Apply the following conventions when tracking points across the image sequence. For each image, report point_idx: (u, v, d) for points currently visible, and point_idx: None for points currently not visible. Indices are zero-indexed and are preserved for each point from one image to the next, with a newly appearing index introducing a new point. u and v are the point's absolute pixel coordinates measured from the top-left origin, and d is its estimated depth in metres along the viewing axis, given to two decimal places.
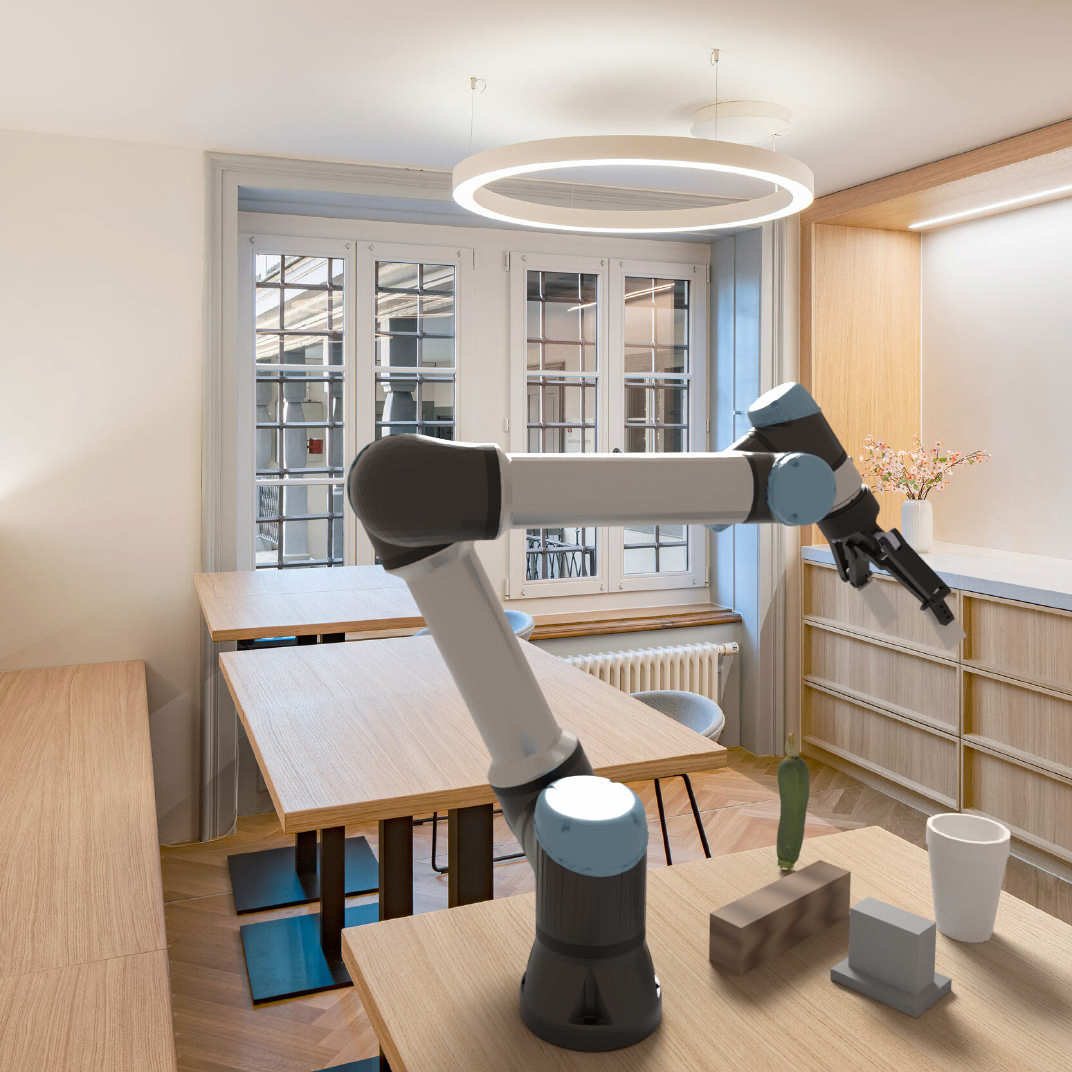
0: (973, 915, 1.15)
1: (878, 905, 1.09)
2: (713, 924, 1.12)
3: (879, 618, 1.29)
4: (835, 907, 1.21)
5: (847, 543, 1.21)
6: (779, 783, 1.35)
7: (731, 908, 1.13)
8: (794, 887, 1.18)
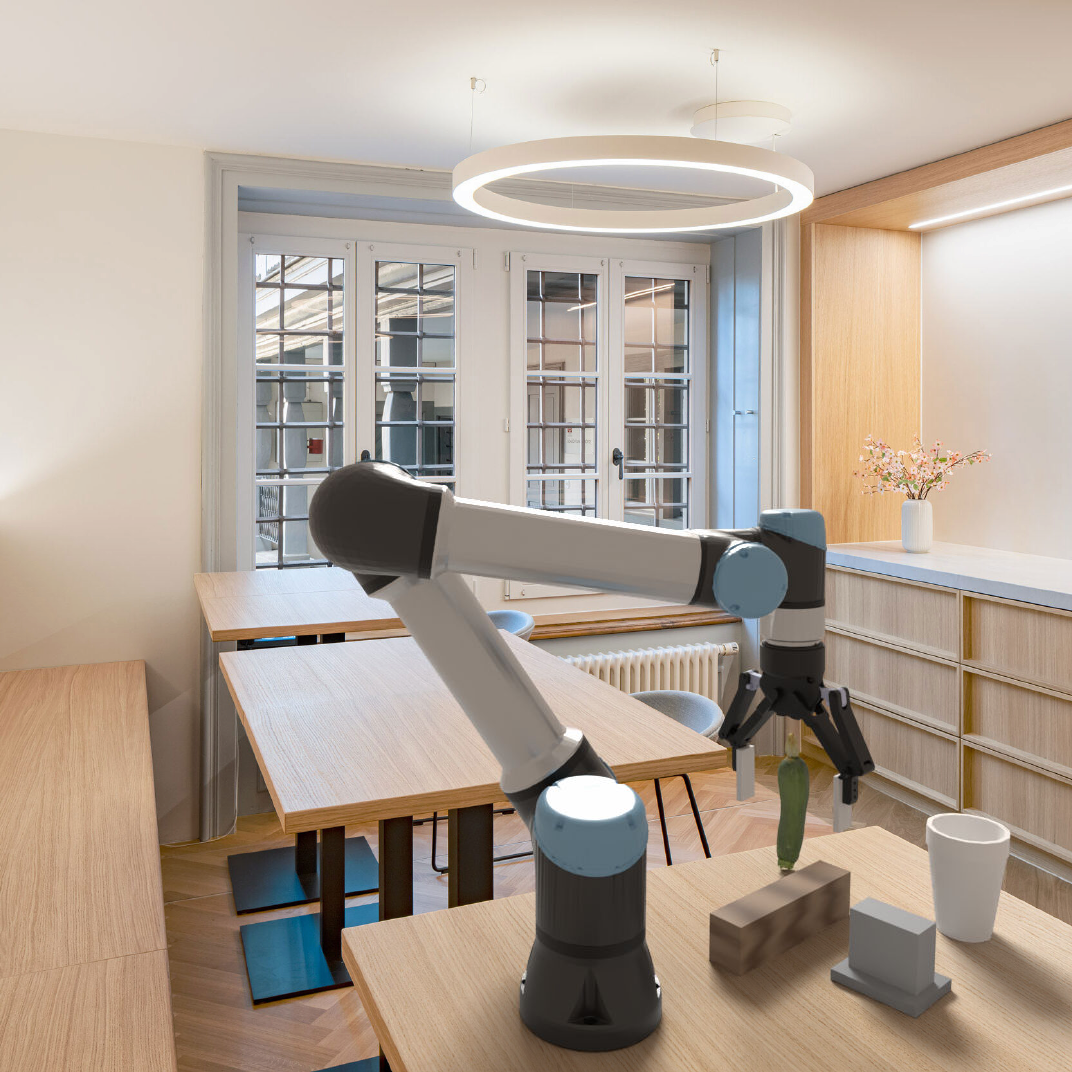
0: (973, 915, 1.15)
1: (878, 905, 1.09)
2: (713, 924, 1.12)
3: (742, 788, 1.21)
4: (835, 907, 1.21)
5: (777, 689, 1.15)
6: (779, 783, 1.35)
7: (731, 908, 1.13)
8: (794, 887, 1.18)
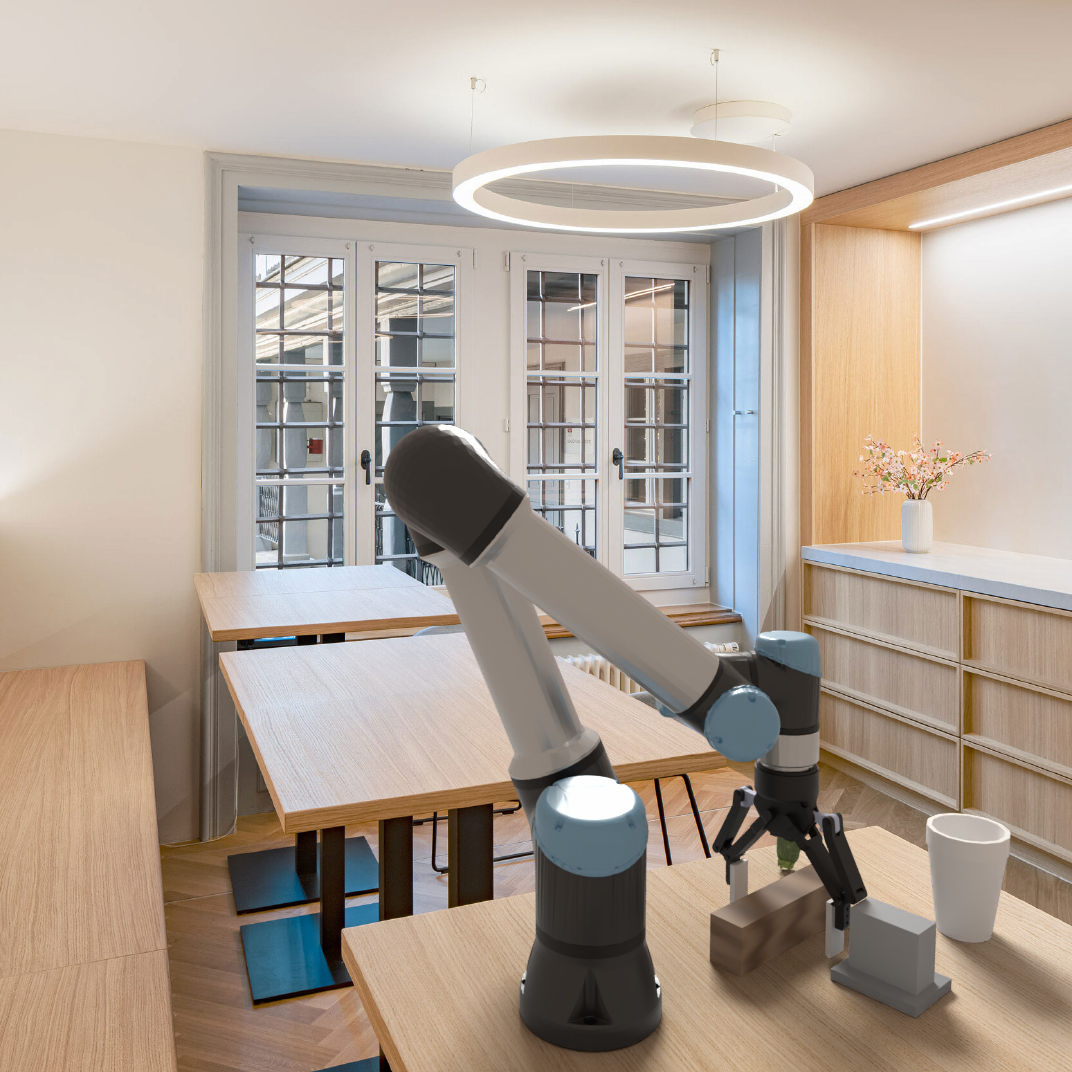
0: (973, 915, 1.15)
1: (878, 905, 1.09)
2: (713, 924, 1.11)
3: None
4: None
5: (771, 810, 1.16)
6: None
7: (731, 908, 1.13)
8: (794, 887, 1.18)
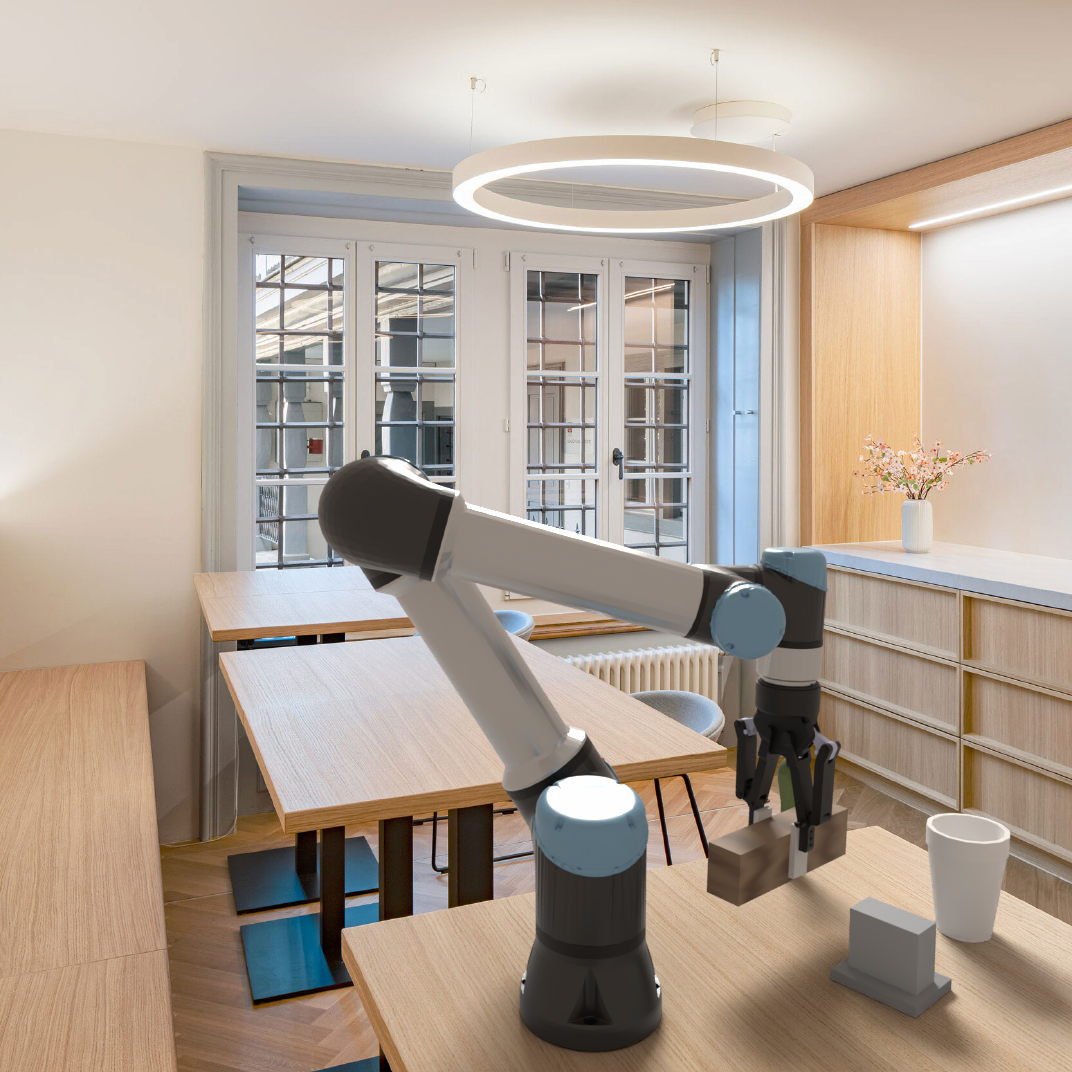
0: (973, 915, 1.15)
1: (878, 905, 1.09)
2: (711, 853, 1.11)
3: None
4: (832, 842, 1.20)
5: (769, 726, 1.15)
6: (779, 783, 1.35)
7: (730, 838, 1.12)
8: (792, 821, 1.17)
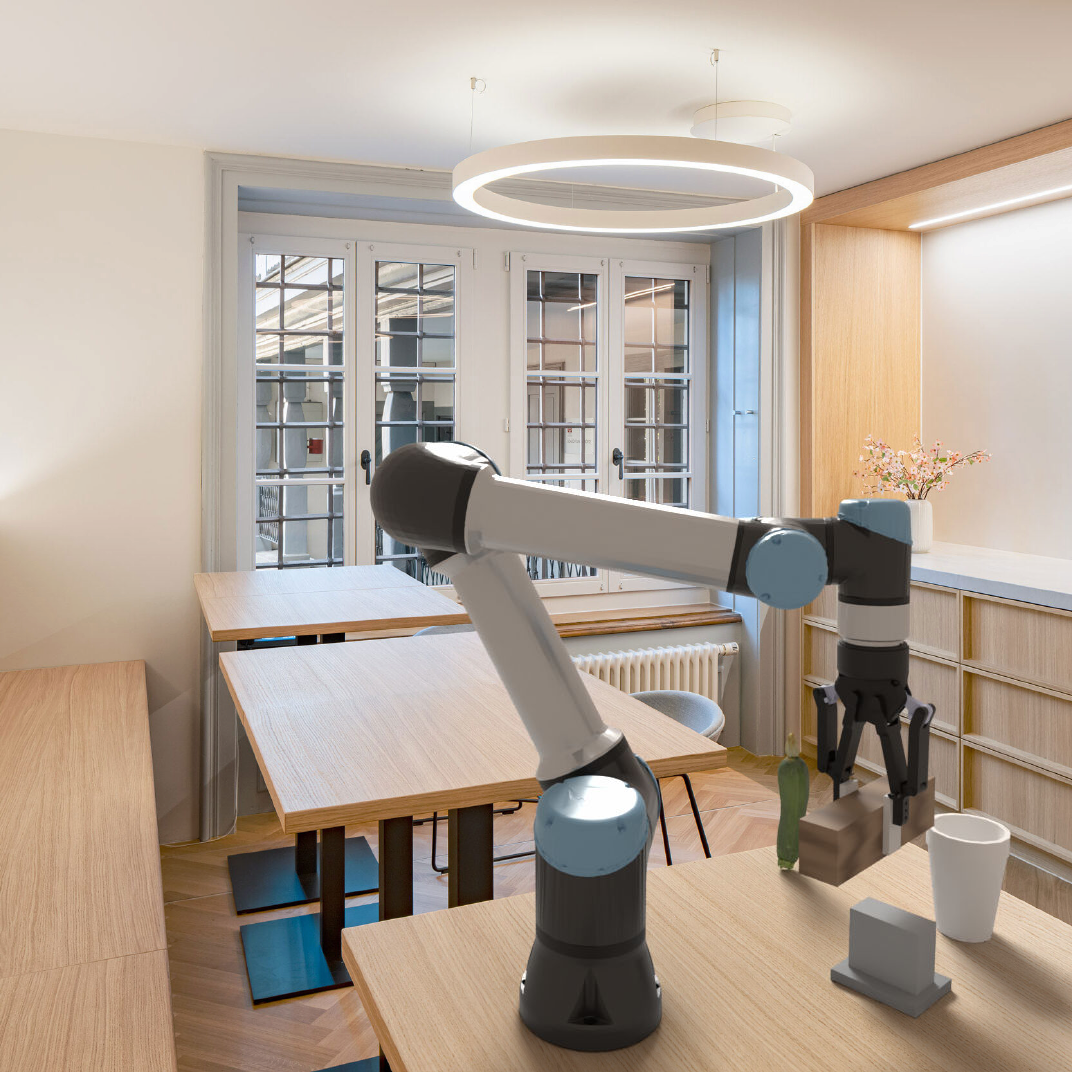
0: (973, 915, 1.15)
1: (878, 905, 1.09)
2: (803, 831, 1.02)
3: None
4: (921, 814, 1.12)
5: (854, 692, 1.07)
6: (779, 783, 1.35)
7: (820, 814, 1.04)
8: (881, 793, 1.09)
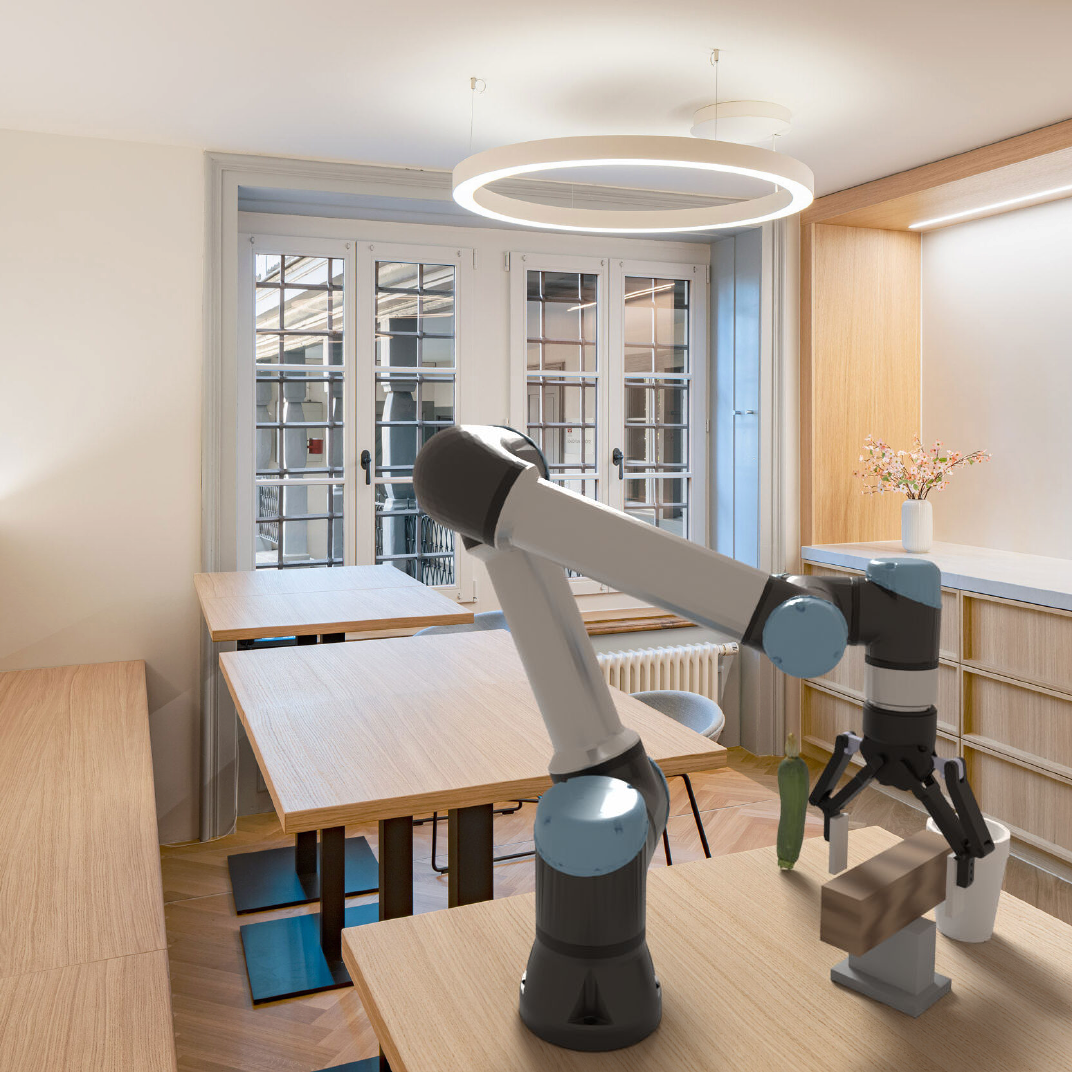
0: (973, 915, 1.15)
1: None
2: (825, 897, 1.00)
3: (835, 860, 1.10)
4: None
5: (881, 756, 1.04)
6: (779, 783, 1.35)
7: (843, 880, 1.02)
8: (906, 857, 1.07)
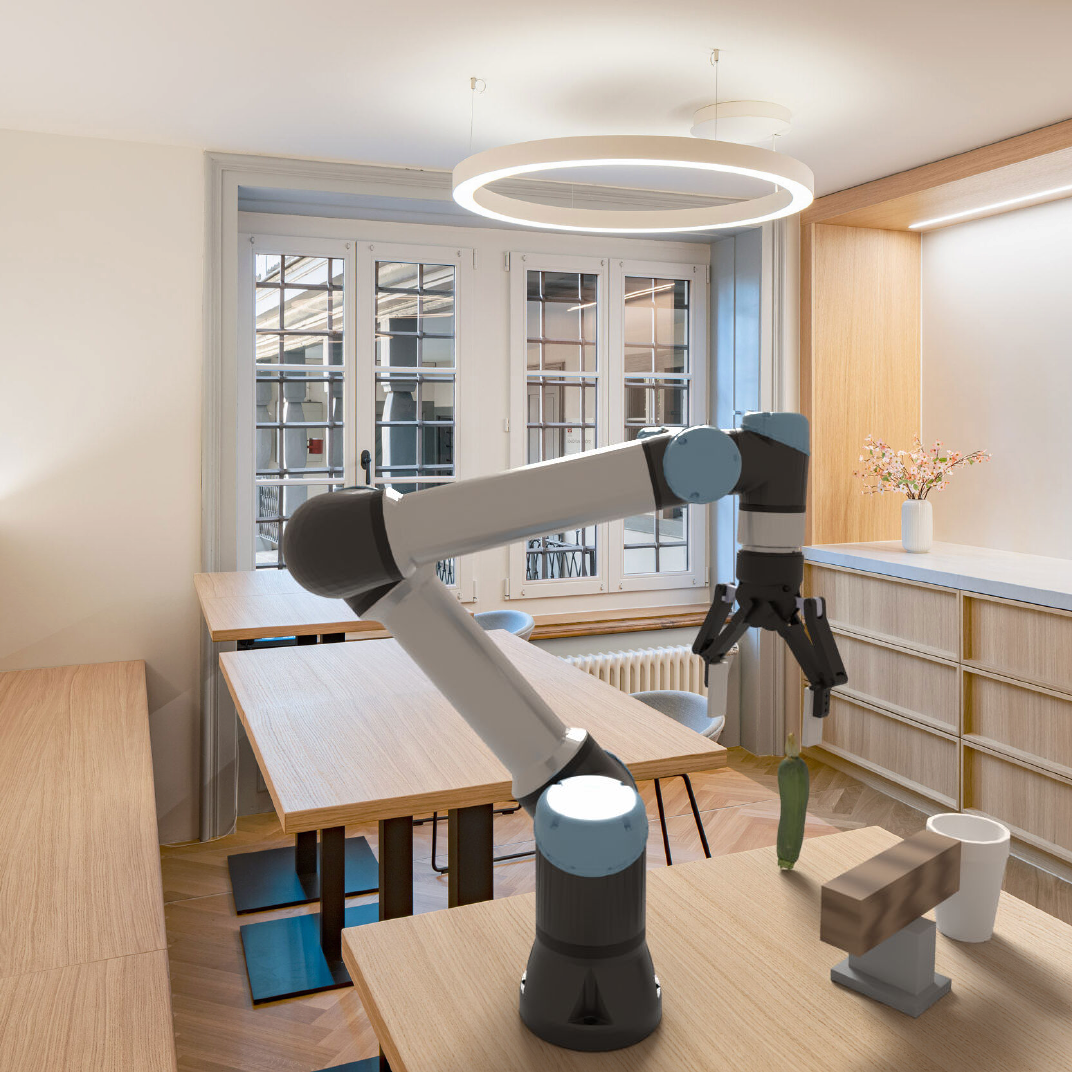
0: (973, 915, 1.15)
1: None
2: (825, 897, 1.00)
3: (713, 704, 1.17)
4: (947, 879, 1.10)
5: (752, 599, 1.11)
6: (779, 783, 1.35)
7: (843, 880, 1.02)
8: (906, 857, 1.07)
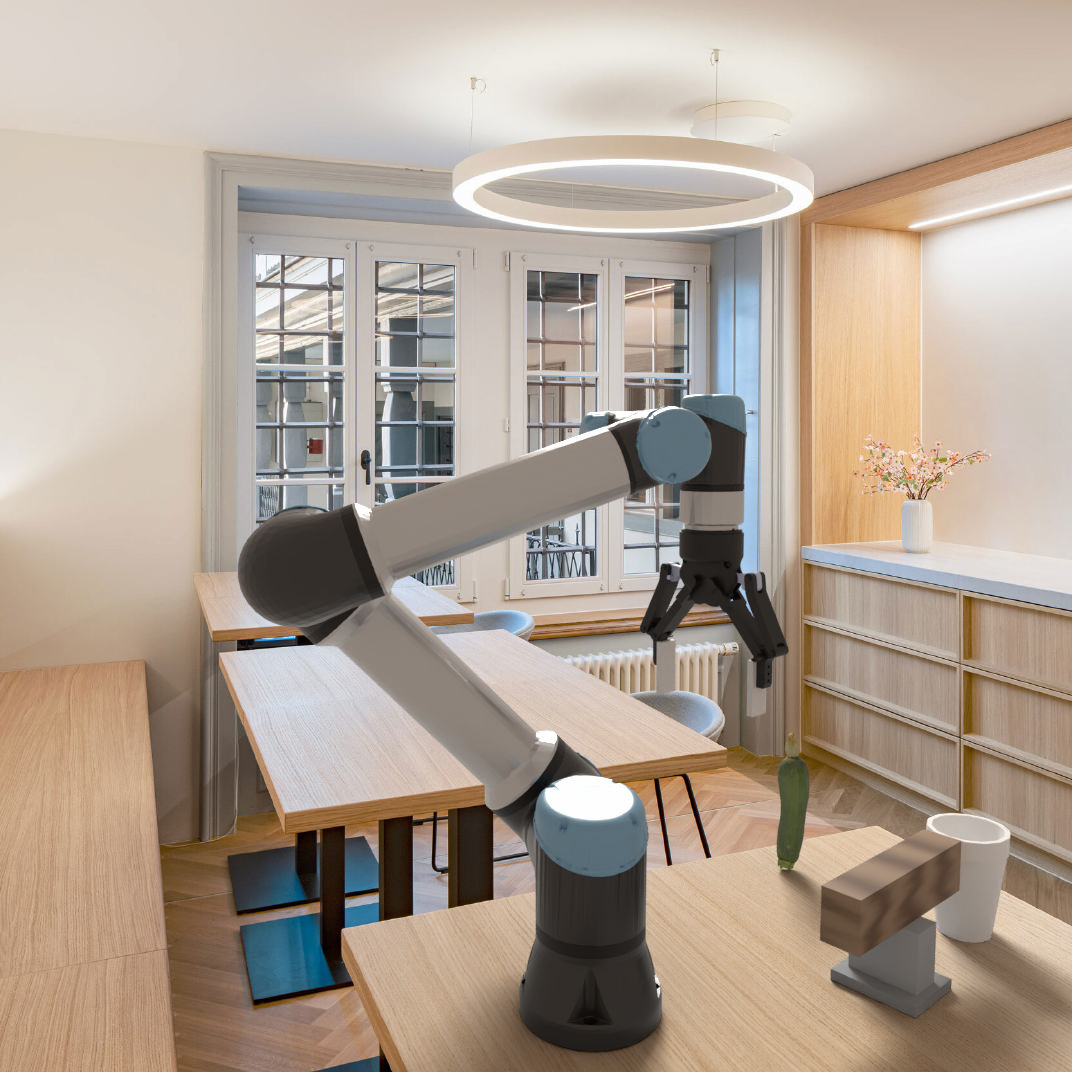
0: (973, 915, 1.15)
1: None
2: (825, 897, 1.00)
3: (661, 681, 1.20)
4: (947, 879, 1.10)
5: (695, 576, 1.14)
6: (779, 783, 1.35)
7: (843, 880, 1.02)
8: (906, 857, 1.07)
